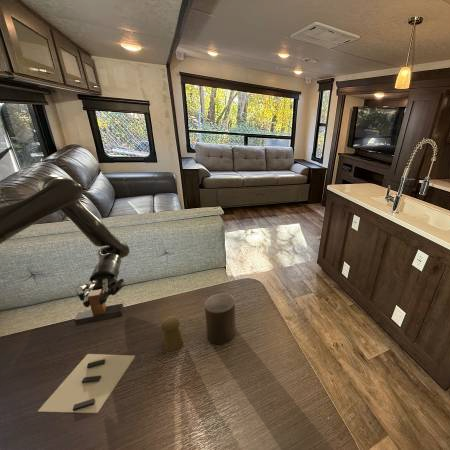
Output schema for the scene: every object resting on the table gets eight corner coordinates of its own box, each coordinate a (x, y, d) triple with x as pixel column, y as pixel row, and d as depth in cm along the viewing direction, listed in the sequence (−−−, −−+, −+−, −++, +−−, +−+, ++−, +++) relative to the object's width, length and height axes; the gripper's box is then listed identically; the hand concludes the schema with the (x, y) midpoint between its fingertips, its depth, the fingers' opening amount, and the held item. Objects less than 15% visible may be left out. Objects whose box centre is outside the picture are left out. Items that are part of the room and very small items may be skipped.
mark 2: (82, 383, 66) (81, 381, 66) (84, 379, 67) (84, 377, 67) (99, 381, 67) (98, 379, 67) (101, 377, 68) (100, 375, 68)
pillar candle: (220, 349, 81) (218, 314, 75) (200, 335, 85) (197, 301, 79) (241, 330, 89) (241, 297, 83) (222, 318, 93) (221, 286, 87)
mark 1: (87, 368, 70) (86, 366, 70) (88, 365, 71) (87, 363, 71) (104, 364, 72) (104, 362, 71) (105, 360, 73) (105, 358, 72)
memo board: (38, 414, 60) (36, 411, 59) (88, 356, 75) (87, 353, 74) (98, 415, 61) (97, 412, 60) (136, 358, 75) (135, 355, 75)
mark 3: (73, 411, 60) (72, 409, 60) (75, 406, 61) (74, 404, 61) (94, 404, 62) (93, 402, 62) (95, 400, 63) (94, 398, 63)
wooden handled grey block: (76, 326, 78) (68, 300, 74) (80, 317, 81) (72, 292, 77) (122, 316, 83) (116, 292, 79) (124, 308, 86) (118, 285, 82)
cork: (161, 355, 77) (156, 329, 73) (165, 339, 82) (161, 314, 78) (182, 352, 79) (178, 326, 75) (184, 337, 84) (181, 312, 80)
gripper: (78, 267, 86) (60, 298, 72) (126, 261, 92) (119, 289, 78) (83, 285, 89) (67, 318, 75) (130, 278, 95) (123, 307, 81)
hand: (94, 303), depth 76 cm, fingers closed on wooden handled grey block, 3 cm apart
